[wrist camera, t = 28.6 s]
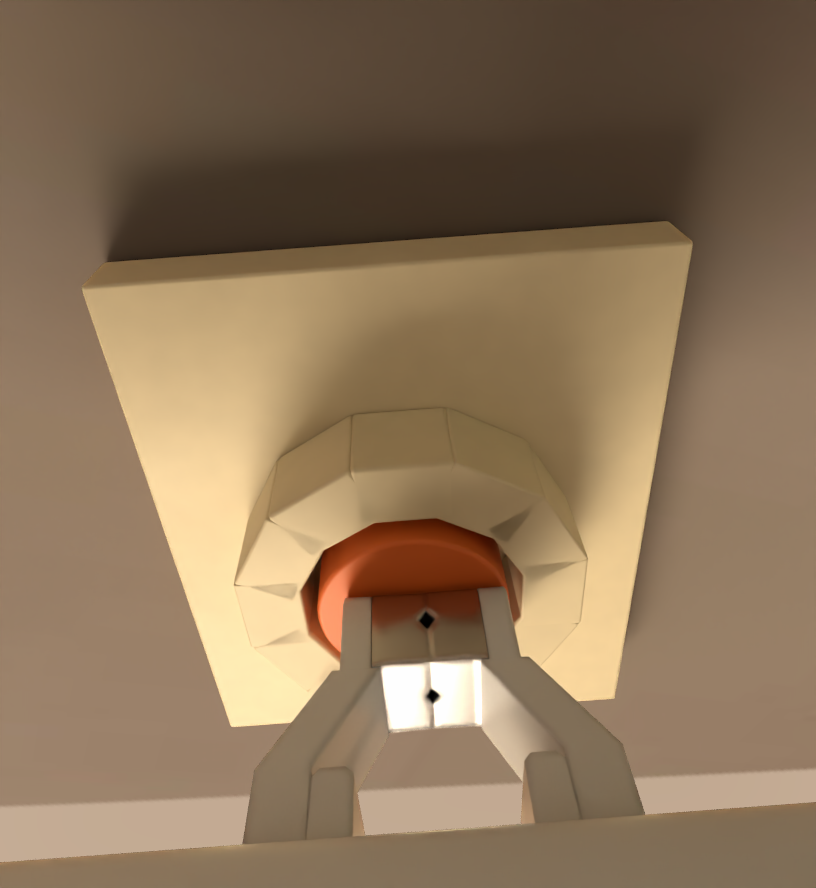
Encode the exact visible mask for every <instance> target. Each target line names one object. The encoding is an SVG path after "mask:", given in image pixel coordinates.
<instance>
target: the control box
mask: <svg viewBox="0 0 816 888" xmlns="http://www.w3.org/2000/svg"><path fill="white" fill-rule="evenodd" d="M692 247H693V243H692V241H691V240H690V239H689V238H688V237H687V236H685V235H684V234H683V233H682V232H681V231H679V230H678V229H677V228H676V227H675V226H673V225H672V224H671V223H670V222H668V221H661V222H647V223H633V224H620V225H606V226H593V227H579V228H566V229H552V230H539V231H525V232H511V233H498V234H484V235H471V236H457V237H444V238H430V239H416V240H403V241H389V242H376V243H362V244H349V245H335V246H321V247H308V248H294V249H281V250H267V251H254V252H240V253H226V254H213V255H199V256H186V257H172V258H159V259H145V260H132V261H118V262H105V263H104V264H102V265H101V266H100V268H99V269H98V270H97V271H96V272H95V273H94V274H93V275H92V276H91V277H90V278H89V279H88V280H87V281H86V283H85V284H84V285H83V286H82V292H83V295H84V298H85V300H86V303H87V306H88V309H89V312H90V315H91V318H92V321H93V324H94V327H95V330H96V333H97V336H98V338H99V341H100V344H101V347H102V350H103V353H104V356H105V359H106V362H107V365H108V368H109V371H110V374H111V377H112V379H113V382H114V385H115V388H116V391H117V394H118V397H119V400H120V403H121V406H122V409H123V412H124V415H125V418H126V420H127V423H128V426H129V429H130V432H131V435H132V438H133V441H134V444H135V447H136V450H137V453H138V456H139V459H140V461H141V464H142V467H143V470H144V473H145V476H146V479H147V482H148V485H149V488H150V491H151V494H152V497H153V500H154V502H155V505H156V508H157V511H158V514H159V517H160V520H161V523H162V526H163V529H164V532H165V535H166V538H167V541H168V543H169V546H170V549H171V552H172V555H173V558H174V561H175V564H176V567H177V570H178V573H179V576H180V579H181V582H182V584H183V587H184V590H185V593H186V596H187V599H188V602H189V605H190V608H191V611H192V614H193V617H194V620H195V623H196V625H197V628H198V631H199V634H200V637H201V640H202V643H203V646H204V649H205V652H206V655H207V658H208V661H209V664H210V666H211V669H212V672H213V675H214V678H215V681H216V684H217V687H218V690H219V693H220V696H221V699H222V702H223V704H224V707H225V710H226V713H227V716H228V719H229V722H230V725H231V726H232V727H239V726H252V725H266V724H279V723H292V721H293V720H294V719H295V717H296V716H297V715H298V714H299V712H300V711H301V710H302V708H303V707H304V706H305V705H306V703H307V702H308V701H309V700H310V698H311V697H312V696H313V694H314V693H315V692H316V691H317V689H318V688H319V687H320V685H321V684H322V683H323V682H324V680H325V679H326V678H327V676H328V675H329V674H330V673H331V671H337V670H340V655H341V652H339V651H338V650H337V649H336V648H335V647H334V646H333V645H332V644H331V643H330V641H329V640H328V639H327V637H326V636H325V634H324V632H323V630H322V628H321V626H320V622H319V619H318V612H317V605H318V593H319V582H320V570H321V559H322V553H323V551H324V550H326V549H327V548H329V547H331V546H333V545H335V544H337V543H339V542H340V541H342V540H344V539H346V538H348V537H350V536H351V535H353V534H355V533H357V532H359V531H361V530H363V529H364V528H366V527H368V526H370V525H372V524H374V523H381V522H394V521H408V520H421V519H435V518H437V519H440V520H443V521H446V522H448V523H451V524H454V525H457V526H459V527H462V528H465V529H468V530H471V531H473V532H476V533H479V534H482V535H484V536H487V537H490V538H493V539H494V540H495V541H496V542H497V544H498V546H499V551H500V556H501V560H502V565H503V569H504V574H505V578H506V583H507V587H508V592H509V601H510V609H511V613H512V618H513V623H514V627H515V632H516V636H517V641H518V645H519V650H520V655H521V657H526V656H529V657H530V658H531V659H532V660H533V661H534V662H536V663H537V664H538V665H539V666H540V667H541V668H542V669H543V670H544V671H545V672H546V673H547V674H548V675H549V676H550V677H552V678H553V679H554V680H555V681H556V682H557V683H558V684H559V685H560V686H561V687H562V688H563V689H564V690H565V691H566V692H568V693H569V694H570V695H571V696H572V697H573V698H574V699H575V700H576V701H587V700H600V699H613V698H614V697H615V693H616V687H617V681H618V675H619V670H620V664H621V658H622V652H623V646H624V641H625V635H626V629H627V623H628V618H629V612H630V606H631V600H632V594H633V589H634V583H635V577H636V571H637V565H638V560H639V554H640V548H641V542H642V536H643V531H644V525H645V519H646V513H647V508H648V502H649V496H650V490H651V484H652V479H653V473H654V467H655V461H656V455H657V450H658V444H659V438H660V432H661V426H662V421H663V415H664V409H665V403H666V398H667V392H668V386H669V380H670V374H671V369H672V363H673V357H674V351H675V345H676V340H677V334H678V328H679V322H680V316H681V311H682V305H683V299H684V293H685V288H686V282H687V276H688V270H689V264H690V259H691V253H692Z"/></svg>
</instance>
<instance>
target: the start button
mask: <svg viewBox="0 0 816 888" xmlns="http://www.w3.org/2000/svg"><path fill="white" fill-rule="evenodd" d="M501 586H504V588H505V589H506V590H507V595H508V600H509V592H508V587H507V583H506V578H505V574H504V569H503V565H502V560H501V556H500V551H499V546H498V544H497V542H496V541H495V540H494V539H493V538H490V537H487V536H484V535H482V534H479V533H476V532H473V531H471V530H468V529H465V528H462V527H459V526H457V525H454V524H451V523H448V522H446V521H443V520H440V519H437V518H435V519H421V520H408V521H394V522H381V523H374V524H372V525H370V526H368V527H366V528H364V529H363V530H361V531H359V532H357V533H355V534H353V535H351V536H350V537H348V538H346V539H344V540H342V541H340V542H339V543H337V544H335V545H333V546H331V547H329V548H327V549H326V550H324V551H323V553H322V559H321V570H320V582H319V593H318V605H317V612H318V619H319V622H320V626H321V628H322V630H323V632H324V634H325V636H326V637H327V639H328V640H329V641H330V643H331V644H332V645H333V646H334V647H335V648H336V649H337V650H338V651H339V652H341V635H342V616H343V604H344V600H345V598H353V597H372V596H383V595H403V594H423V593H429V592H440V591H452V590H464V589H478V588H489V587H501ZM509 604H510V601H509Z"/></svg>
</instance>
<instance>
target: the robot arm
mask: <svg viewBox="0 0 816 888" xmlns="http://www.w3.org/2000/svg"><path fill="white" fill-rule="evenodd" d="M473 726H481V728H482V730H483V731H484V732H485V734H486V735H487V736H488V738H489V739H490V740H491V741H492V743H493V744H494V745H495V747H496V748H497V749H498V750H499V752H500V753H501V754H502V756H503V757H504V758H505V760H506V761H507V762H508V763H509V765H510V766H511V767H512V769H513V770H514V771H515V772H516V774H517V775H518V776H519V778H520V779H521V780H522V782H523V794H522V811H521V824H516V825H502V826H488V827H475V828H462V829H449V830H435V831H422V832H407V833H393V834H381V835H366V836H365V832H364V826H363V821H362V815H361V811H360V805H359V800H358V794H357V793H358V791H359V789H360V787H361V786H362V784H363V782H364V780H365V778H366V777H367V775H368V773H369V771H370V769H371V768H372V766H373V764H374V762H375V760H376V758H377V757H378V755H379V753H380V751H381V749H382V748H383V746H384V744H385V742H386V740H387V739H388V737H389V733H393V732H403V731H413V730H423V729H432V728H451V727H473ZM0 888H816V802H813V803H799V804H785V805H771V806H758V807H744V808H732V809H731V808H730V809H717V810H703V811H690V812H677V813H663V814H649V815H645V812H644V809H643V806H642V803H641V800H640V797H639V794H638V790H637V787H636V785H635V781H634V778H633V775H632V772H631V769H630V766H629V763H628V760H627V756H626V753H625V750H624V747H623V744H622V743H621V742H620V741H619V740H618V739H617V738H616V737H614V736H613V735H612V734H611V733H610V732H609V731H608V730H607V729H606V728H605V727H604V726H603V725H602V724H601V723H600V722H598V721H597V720H596V719H595V718H594V717H593V716H592V715H591V714H590V713H589V712H588V711H587V710H586V709H585V708H584V707H582V706H581V705H580V704H579V703H578V702H577V701H576V700H575V699H574V698H573V697H572V696H571V695H570V694H569V693H568V692H566V691H565V690H564V689H563V688H562V687H561V686H560V685H559V684H558V683H557V682H556V681H555V680H554V679H553V678H552V677H550V676H549V675H548V674H547V673H546V672H545V671H544V670H543V669H542V668H541V667H540V666H539V665H538V664H537V663H536V662H534V661H533V660H532V659H531V658H530V657H529V656H526V657H521V655H520V650H519V645H518V641H517V636H516V632H515V627H514V623H513V618H512V613H511V609H510V604H509V600H508V595H507V590H506V589H505V588H504V586H501V587H489V588H478V589H464V590H452V591H440V592H429V593H423V594H403V595H383V596H372V597H353V598H345V600H344V604H343V616H342V635H341V655H340V670H337V671H331V673H330V674H329V675H328V676H327V678H326V679H325V680H324V682H323V683H322V684H321V685H320V687H319V688H318V689H317V691H316V692H315V693H314V694H313V696H312V697H311V698H310V700H309V701H308V702H307V703H306V705H305V706H304V707H303V708H302V710H301V711H300V712H299V714H298V715H297V716H296V717H295V719H294V720H293V721H292V723H291V724H290V725H289V726H288V728H287V729H286V730H285V732H284V733H283V734H282V735H281V737H280V738H279V739H278V740H277V742H276V743H275V744H274V746H273V747H272V748H271V749H270V751H269V752H268V753H267V755H266V756H265V757H264V758H263V760H262V761H261V762H260V764H259V765H258V766H257V767H256V769H255V770H254V775H253V781H252V787H251V794H250V800H249V806H248V813H247V819H246V826H245V832H244V839H243V844H242V845H230V846H218V847H203V848H190V849H176V850H162V851H149V852H135V853H122V854H108V855H95V856H81V857H67V858H54V859H40V860H27V861H13V862H0Z"/></svg>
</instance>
